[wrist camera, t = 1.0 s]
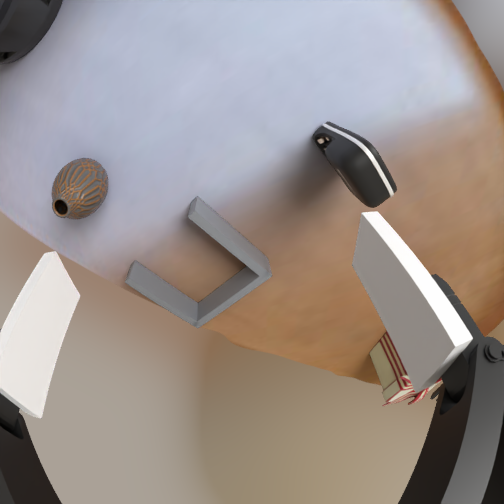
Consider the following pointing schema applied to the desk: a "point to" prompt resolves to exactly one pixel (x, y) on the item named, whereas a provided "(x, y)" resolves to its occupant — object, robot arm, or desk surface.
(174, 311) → the box
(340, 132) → the battery charger
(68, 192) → the vase
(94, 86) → the desk surface
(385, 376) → the gift box
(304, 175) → the desk surface
